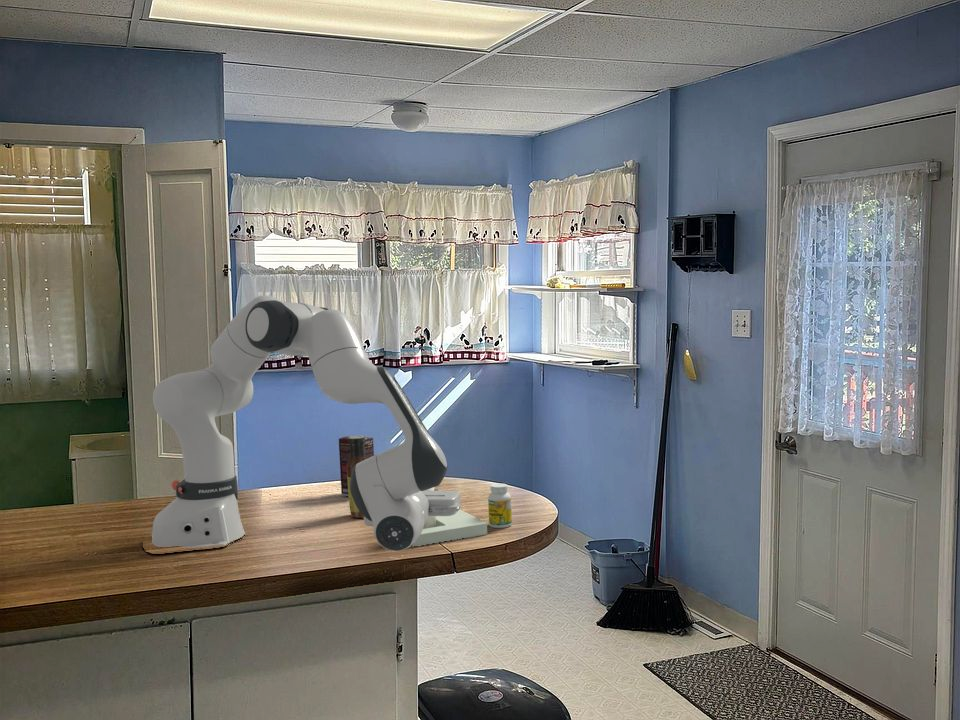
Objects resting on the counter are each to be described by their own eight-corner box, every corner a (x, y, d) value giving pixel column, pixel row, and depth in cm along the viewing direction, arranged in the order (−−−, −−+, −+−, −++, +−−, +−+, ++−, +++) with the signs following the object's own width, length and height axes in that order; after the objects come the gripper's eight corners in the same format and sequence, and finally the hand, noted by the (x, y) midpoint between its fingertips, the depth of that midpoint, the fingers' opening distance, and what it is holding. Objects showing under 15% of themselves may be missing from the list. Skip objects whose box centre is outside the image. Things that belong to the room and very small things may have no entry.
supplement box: (376, 495, 248) (374, 437, 247) (365, 499, 244) (362, 440, 243) (351, 492, 253) (349, 435, 251) (340, 496, 249) (337, 438, 247)
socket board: (413, 547, 201) (413, 535, 201) (390, 531, 213) (390, 520, 213) (487, 534, 209) (486, 523, 209) (460, 520, 221) (460, 509, 221)
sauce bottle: (377, 512, 231) (374, 434, 229) (372, 519, 225) (368, 438, 223) (352, 512, 232) (348, 434, 230) (346, 519, 225) (342, 439, 223)
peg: (420, 539, 207) (418, 486, 206) (412, 534, 211) (410, 482, 210) (439, 536, 209) (437, 484, 208) (431, 531, 213) (429, 480, 212)
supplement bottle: (515, 523, 217) (514, 483, 216) (505, 529, 212) (504, 488, 211) (495, 521, 220) (494, 481, 219) (484, 527, 215) (483, 486, 214)
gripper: (458, 495, 182) (464, 478, 196) (356, 494, 183) (368, 477, 197) (459, 526, 183) (464, 507, 196) (356, 525, 184) (369, 506, 198)
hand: (415, 492), depth 197 cm, fingers open, 8 cm apart
